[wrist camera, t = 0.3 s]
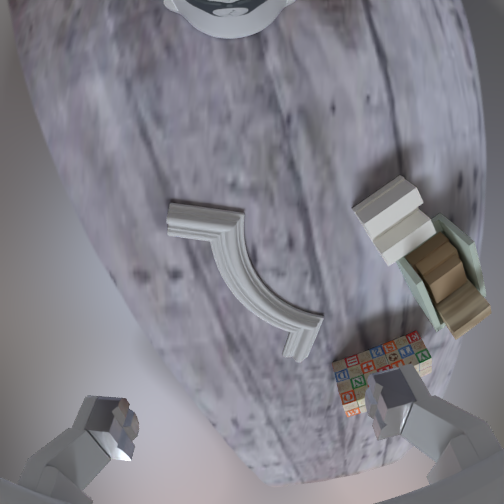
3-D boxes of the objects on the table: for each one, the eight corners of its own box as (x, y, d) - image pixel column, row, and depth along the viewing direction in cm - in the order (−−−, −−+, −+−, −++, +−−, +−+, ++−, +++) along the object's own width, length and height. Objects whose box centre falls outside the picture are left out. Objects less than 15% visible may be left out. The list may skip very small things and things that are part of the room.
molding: (154, 215, 49) (149, 222, 47) (212, 170, 46) (210, 176, 43) (291, 360, 66) (292, 370, 64) (339, 336, 63) (342, 346, 61)
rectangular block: (417, 281, 55) (453, 332, 42) (449, 258, 52) (490, 305, 39) (421, 288, 56) (455, 339, 43) (451, 266, 53) (491, 313, 40)
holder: (351, 208, 49) (363, 222, 44) (399, 175, 46) (415, 185, 41) (377, 251, 53) (389, 267, 48) (421, 220, 50) (436, 234, 45)
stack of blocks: (416, 328, 63) (438, 367, 52) (417, 345, 66) (436, 382, 55) (331, 362, 67) (342, 406, 56) (336, 377, 70) (347, 418, 59)
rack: (389, 249, 52) (416, 285, 43) (439, 212, 49) (474, 241, 39) (413, 295, 58) (436, 332, 48) (457, 263, 55) (486, 295, 45)
